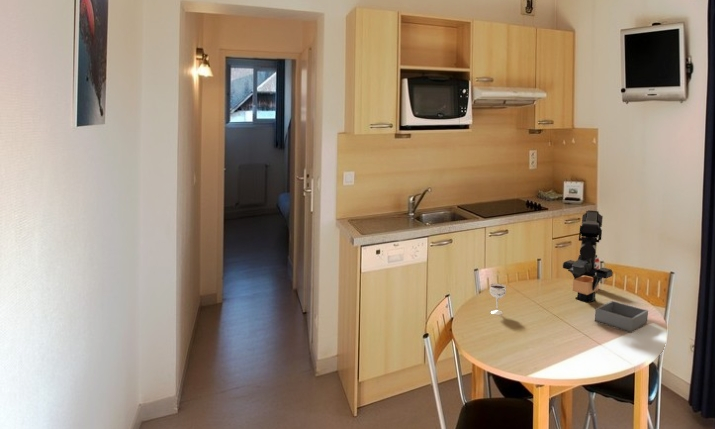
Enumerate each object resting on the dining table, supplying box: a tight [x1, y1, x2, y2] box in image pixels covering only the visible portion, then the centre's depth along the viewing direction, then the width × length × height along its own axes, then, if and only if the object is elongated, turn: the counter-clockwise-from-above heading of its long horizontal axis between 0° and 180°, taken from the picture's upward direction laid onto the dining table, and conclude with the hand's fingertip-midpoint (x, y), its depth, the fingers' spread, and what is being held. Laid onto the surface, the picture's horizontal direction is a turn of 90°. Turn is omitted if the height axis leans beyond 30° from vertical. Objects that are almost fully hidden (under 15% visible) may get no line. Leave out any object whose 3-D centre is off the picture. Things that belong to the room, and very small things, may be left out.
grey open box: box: [594, 300, 649, 334], centre depth 184 cm, size 14×14×6 cm
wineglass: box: [489, 283, 507, 316], centre depth 196 cm, size 7×7×12 cm
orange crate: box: [572, 275, 600, 295], centre depth 193 cm, size 6×9×5 cm
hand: (585, 288), depth 193 cm, fingers closed on orange crate, 6 cm apart
